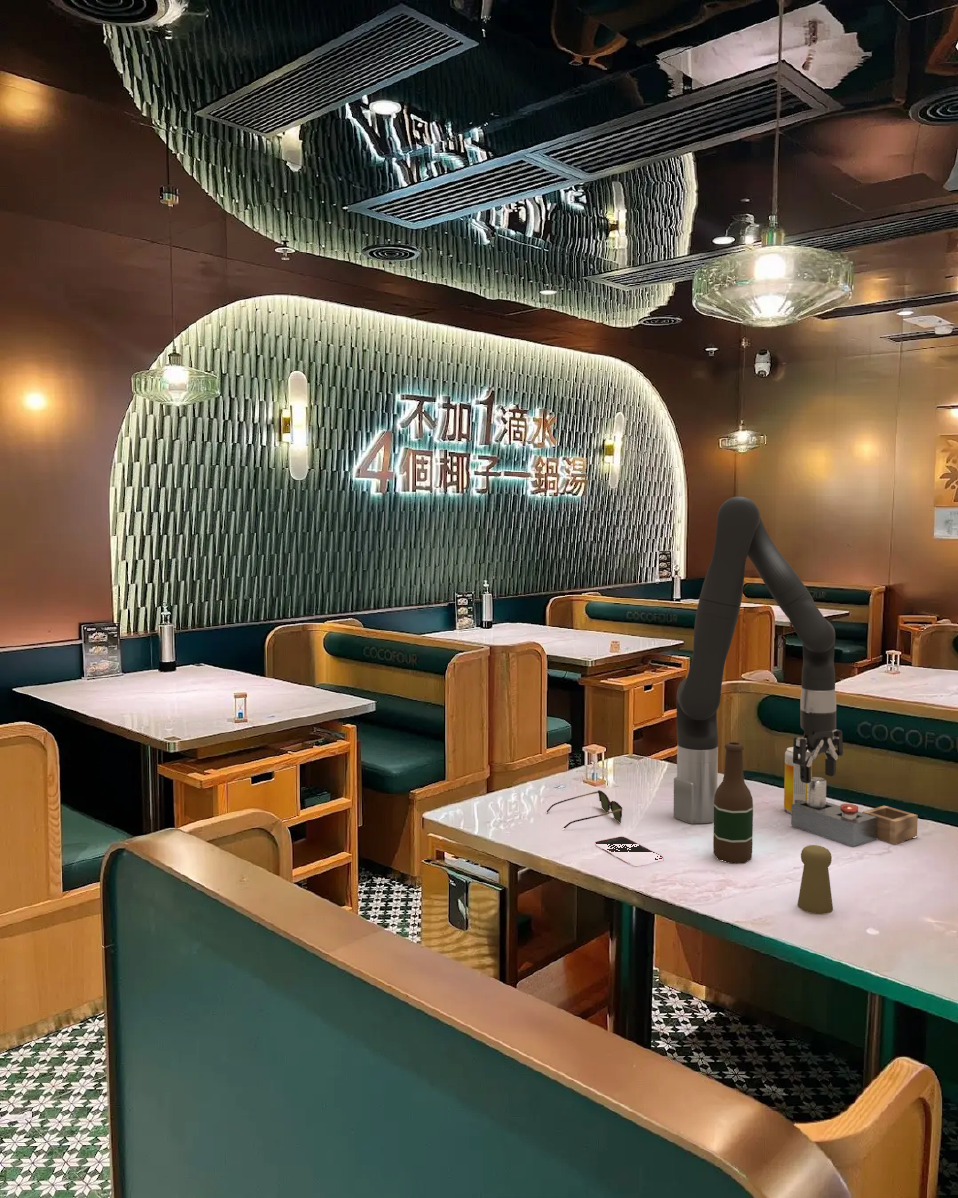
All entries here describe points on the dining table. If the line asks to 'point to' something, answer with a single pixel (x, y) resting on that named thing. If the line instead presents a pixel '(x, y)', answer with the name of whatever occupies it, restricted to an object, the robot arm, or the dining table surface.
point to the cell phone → (624, 841)
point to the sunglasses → (605, 805)
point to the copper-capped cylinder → (849, 811)
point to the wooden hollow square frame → (894, 824)
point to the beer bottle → (733, 811)
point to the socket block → (834, 824)
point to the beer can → (793, 782)
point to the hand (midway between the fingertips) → (818, 779)
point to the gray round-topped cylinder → (816, 793)
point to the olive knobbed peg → (815, 880)
